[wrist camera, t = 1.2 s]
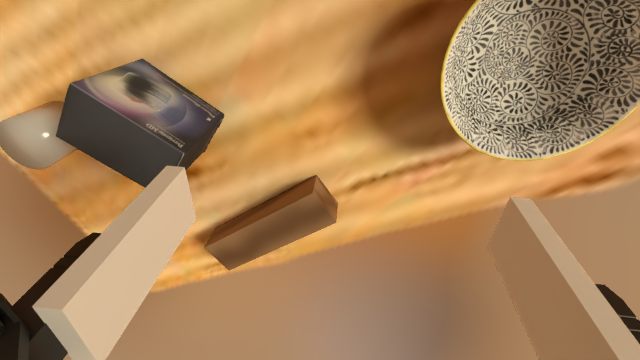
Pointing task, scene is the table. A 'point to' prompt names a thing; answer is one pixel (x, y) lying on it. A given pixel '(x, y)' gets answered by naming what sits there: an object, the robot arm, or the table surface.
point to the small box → (137, 121)
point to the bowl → (541, 74)
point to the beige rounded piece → (35, 136)
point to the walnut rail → (274, 224)
